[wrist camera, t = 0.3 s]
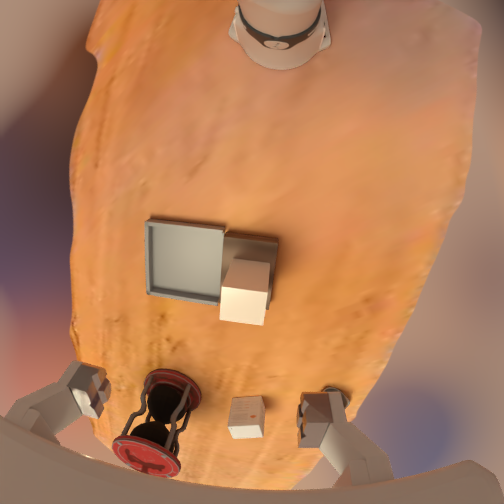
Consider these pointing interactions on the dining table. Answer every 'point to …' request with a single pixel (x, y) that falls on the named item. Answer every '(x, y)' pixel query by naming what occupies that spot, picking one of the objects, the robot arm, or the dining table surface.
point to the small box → (247, 417)
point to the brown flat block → (249, 254)
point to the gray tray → (183, 260)
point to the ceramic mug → (344, 398)
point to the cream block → (245, 292)
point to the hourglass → (158, 424)
